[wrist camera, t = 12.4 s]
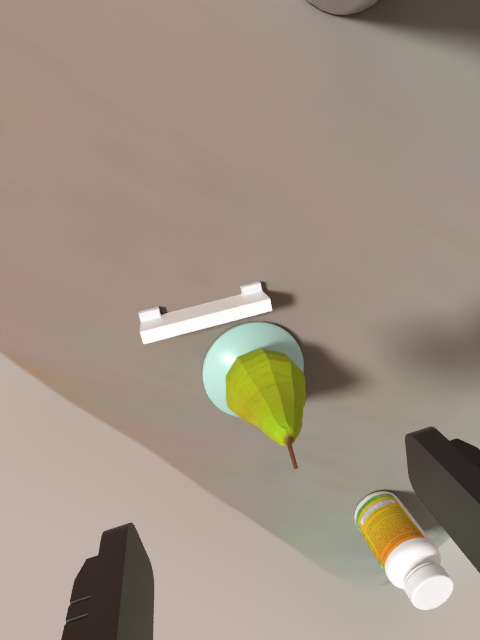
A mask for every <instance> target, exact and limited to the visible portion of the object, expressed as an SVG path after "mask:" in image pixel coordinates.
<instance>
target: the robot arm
mask: <svg viewBox="0 0 480 640" xmlns="http://www.w3.org/2000/svg"><path fill="white" fill-rule="evenodd" d="M307 1H308V2H310V3H311V4H312V5H314V6H315V7H317V8H318V9H320V10H323V11H326V12H328V13H331V14H339V15H349V14H354V13H359V12H361V11H363V10H365V9H367V8H369V7H371V6H372V5H374V4H375V3H376V2H377V1H379V0H307ZM405 444H406V454H407V465H408V474H409V479H410V482H411V485H412V487H413V489H414V491H415V493H416V494H417V496H418V497H419V498H420V500H421V501H422V502H423V503H424V505H425V506H426V507H427V508H428V510H429V511H430V512H431V513H432V515H433V516H434V517H435V518H436V520H437V521H438V522H439V523H440V525H441V526H442V527H443V528H444V529H445V531H446V532H447V533H448V534H449V536H450V537H451V538H452V539H453V541H454V542H455V543H456V544H457V546H458V547H459V548H460V549H461V551H462V552H463V553H464V554H465V555H466V557H467V558H468V559H469V560H470V561H471V563H472V564H473V565H474V566H475V568H476V569H477V570H478V572H479V573H480V450H479V449H478V448H477V447H475V446H473V445H470V444H468V443H466V442H464V441H462V440H459V439H454V440H451V441H449V440H448V439H447V438H446V437H444V436H443V435H442V434H441V433H440V432H439V431H438V430H437V429H435V428H434V427H428V428H424V429H421V430H418V431H415V432H412V433H409V434H407V435H406V436H405ZM153 615H154V578H153V571H152V567H151V563H150V560H149V558H148V555H147V553H146V551H145V549H144V546H143V544H142V542H141V539H140V537H139V535H138V533H137V530H136V528H135V526H134V525H133V523H128V524H125V525H122V526H119V527H116V528H113V529H110V530H107V531H104V532H103V534H102V537H101V542H100V548H99V554H98V556H95V557H92V558H89V559H86V561H85V563H84V565H83V567H82V568H81V570H80V572H79V573H78V575H77V577H76V579H75V581H74V585H73V590H72V594H71V599H70V606H69V608H68V613H67V617H66V624H65V626H64V631H63V635H62V639H61V640H153Z"/></svg>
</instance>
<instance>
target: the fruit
mask: <svg viewBox="0 0 480 640" xmlns="http://www.w3.org/2000/svg"><path fill="white" fill-rule="evenodd" d="M226 401H227V407H228V408H229V409H230V410H231V411H232V412H234V413H235V414H236V415H238V416H239V417H241V418H242V419H243V420H245V421H246V422H247V423H250V424H253V425H255V426H258V427H259V428H260V429H261V430H262V431H263V432H264V433H265V434H266V435H267V436H268V437H269V438H271V439H272V440H273V441H274V442H276V443H278V444H279V445H281V446H288V449H289V453H290V456H291V460H292V463H293V466H294V469H297V468H298V466H297V463H296V460H295V456H294V453H293V449H292V444H293V442H294V441H295V439H296V438H297V436H298V435H299V433H300V431H301V427H302V417H303V408H304V405H305V401H306V386H305V376H304V373H303V372H302V371H301V369H300V368H299V367H298V366H297V365H296V364H295V363H294V362H293V361H292V360H291V359H290V358H289V357H288V356H286V355H285V354H284V353H281V352H276V351H271V350H265V349H260V348H258V349H256V350H253V351H251V352H248V353H246V354H244V355H241V356H239V357H237V358H236V360H235V362H234V363H233V365H232V366H231V368H230V370H229V371H228V373H227V375H226Z"/></svg>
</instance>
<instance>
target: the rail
mask: <svg viewBox="0 0 480 640" xmlns="http://www.w3.org/2000/svg"><path fill="white" fill-rule="evenodd" d="M240 287H241V292H242V294H240V295H236V296H232V297H228V298H224V299H220V300H216V301H212V302H208V303H204V304H200V305H196V306H192V307H188V308H185V309H181V310H177V311H173V312H169V313H165V314H161V313H160V310H159V306H158V307H154V308H150V309H146V310H142V311H139V313H138V314H139V317H140V320H141V326H140V334H141V337H142V341H143V344H147V343H151V342H155V341H158V340H162V339H166V338H170V337H174V336H177V335H181V334H185V333H189V332H193V331H197V330H200V329H204V328H208V327H212V326H216V325H220V324H223V323H227V322H231V321H235V320H239V319H243V318H246V317H250V316H254V315H258V314H262V313H265V312H269V311H272V306H271V301H270V298H269V297H268V296H267V295H266V294H265V293H264V292H263V291H262V287H261V283H260V282H259V281H258V282H254V283H250V284H246V285H242V286H240Z"/></svg>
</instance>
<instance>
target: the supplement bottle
mask: <svg viewBox="0 0 480 640" xmlns="http://www.w3.org/2000/svg"><path fill="white" fill-rule="evenodd" d="M354 519H355V523H356V525H357V527H358V529H359V530H360V532H361V534H362V535H363V537H364V539H365V540H366V542H367V543H368V545H369V547H370V548H371V550H372V552H373V553H374V555H375V557H376V558H377V560H378V562H379V564H380V565H381V567H382V569H383V570H384V572H385V574H386V575H387V577H388V578H389V580H390V581H391V582H392V583H393V584H394V585H395V586H397V587H399V588H401V589H404V590H405V592H406V594H407V595H408V597H409V599H410V600H411V602H412V603H413V605H414V606H415V607H417V608H418V609H422V610H428V609H433V608H435V607H437V606H439V605H441V604H442V603H443V602H445V601H446V600H447V599H448V598H449V596H450V595H451V593H452V590H453V582H452V580H451V578H450V577H449V576H448V574H447V573H446V571H445V569H444V568H443V567H441V566H440V562H441V558H440V554H439V552H438V549H437V548H436V546H435V545H434V543H433V542H432V541H431V539H430V538H429V537H428V536H427V534H426V533H425V532H424V530H423V529H422V528H421V527H420V525H419V524H418V523H417V521H416V520H415V519H414V518H413V516H412V515H411V514H410V512H409V511H408V510H407V509H406V507H405V506H404V505H403V503H402V502H401V501H400V500H399V499H398V497H397V496H396V495H394V494H393V493H391V492H387V491H379V492H375V493H372V494H370V495H368V496H366V497H365V498H364V499H363V500H362V501H361V502H360V503H359V505H358V506H357V508H356V511H355V515H354Z"/></svg>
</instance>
